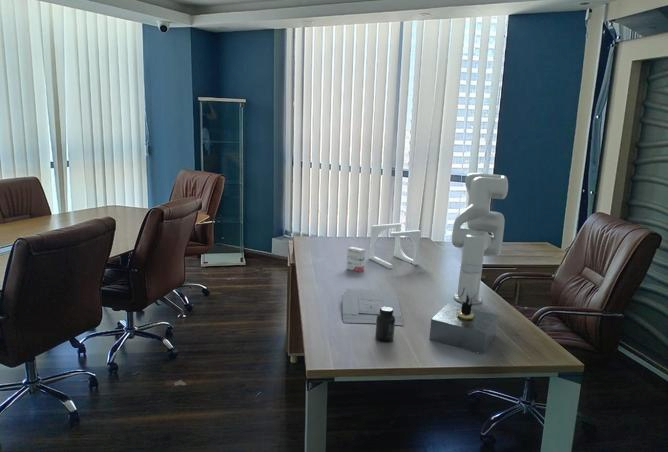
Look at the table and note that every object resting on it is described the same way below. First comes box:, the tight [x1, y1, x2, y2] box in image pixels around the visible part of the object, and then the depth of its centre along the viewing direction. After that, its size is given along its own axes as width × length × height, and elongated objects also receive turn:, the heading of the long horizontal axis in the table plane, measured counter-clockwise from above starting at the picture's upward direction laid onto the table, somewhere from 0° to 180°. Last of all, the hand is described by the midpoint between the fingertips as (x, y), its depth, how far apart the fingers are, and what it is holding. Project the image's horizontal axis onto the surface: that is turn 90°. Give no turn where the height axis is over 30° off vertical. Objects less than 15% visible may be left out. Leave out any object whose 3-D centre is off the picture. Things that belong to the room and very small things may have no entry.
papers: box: [342, 288, 404, 327], centre depth 211 cm, size 24×30×4 cm
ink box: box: [346, 246, 366, 273], centre depth 265 cm, size 9×5×12 cm, turn 58°
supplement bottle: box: [374, 306, 396, 343], centre depth 183 cm, size 7×7×12 cm
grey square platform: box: [428, 302, 499, 355], centre depth 189 cm, size 20×20×8 cm
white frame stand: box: [368, 222, 422, 269], centre depth 283 cm, size 20×20×20 cm
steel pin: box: [457, 311, 474, 321], centre depth 189 cm, size 6×6×10 cm
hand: (465, 313), depth 187 cm, fingers closed
